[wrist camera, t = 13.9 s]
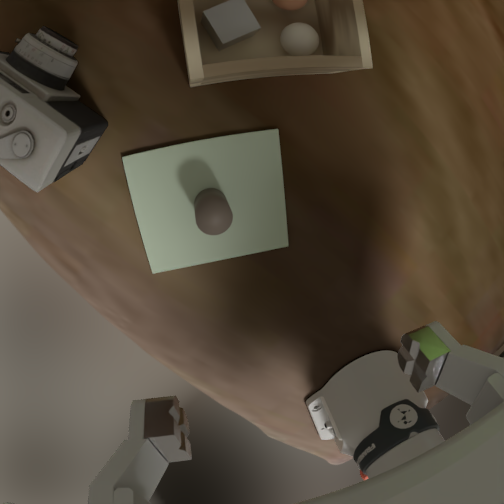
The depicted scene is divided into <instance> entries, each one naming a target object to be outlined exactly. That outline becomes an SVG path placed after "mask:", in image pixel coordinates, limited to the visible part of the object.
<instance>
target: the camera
mask: <svg viewBox="0 0 504 504" xmlns="http://www.w3.org/2000/svg"><path fill="white" fill-rule="evenodd" d="M15 42H17V43H18V44H17V46H16V47H15V48H14V50H13V51H12V52H11V54H10V53H7V52H1V51H0V165H1V166H2V167H3V168H5V169H6V170H7V171H8V172H10V173H11V174H12V175H14V176H15V177H16V178H18V179H19V180H20V181H22V182H23V183H24V184H26V185H27V186H28V187H30V188H31V189H32V190H34V191H36V192H39V191H40V190H42V189H43V188H45V187H46V186H48V185H49V184H51V183H53V182H55V181H57V180H58V179H60V178H61V177H63V176H64V175H66V174H67V173H69V172H71V171H72V170H74V169H75V168H77V167H79V166H80V165H82V164H83V162H84V161H85V160H86V159H87V157H88V156H89V154H90V153H91V151H92V149H93V148H94V146H95V145H96V143H97V142H98V140H99V139H100V137H101V136H102V134H103V133H104V131H105V129H106V128H107V126H108V122H107V121H106V120H105V119H104V118H102V117H101V116H100V115H98V114H97V113H95V112H94V111H92V110H91V109H90V108H88V107H87V106H85V105H84V104H83V103H81V102H80V101H78V99H79V98H80V95H79V94H77V93H76V92H74V91H73V90H71V89H70V88H68V87H67V86H66V84H67V82H68V80H69V79H70V77H71V75H72V73H73V71H74V69H75V67H76V66H77V64H78V61H77V60H76V59H75V58H74V57H73V55H74V54H75V52H76V51H77V49H78V46H77V45H76V44H74V43H73V42H71V41H70V40H68V39H67V38H65V37H63V36H62V35H60V34H58V33H57V32H55V31H53V30H51V29H49V28H47V27H45V26H42V28H40V29H39V31H38V32H37V34H36V35H35V34H31V33H27V34H26V35H25V36H24V37H23V38H22V40H20V39H18V38H17V39H16V41H15Z"/></svg>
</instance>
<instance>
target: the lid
mask: <svg viewBox="0 0 504 504" xmlns="http://www.w3.org/2000/svg"><path fill="white" fill-rule="evenodd" d="M122 160H123V164H124V169H125V173H126V178H127V182H128V186H129V190H130V194H131V198H132V202H133V206H134V210H135V214H136V218H137V222H138V225H139V229H140V233H141V236H142V240H143V243H144V247H145V250H146V253H147V257H148V260H149V263H150V267H151V270H152V273H153V274H154V273H159V272H164V271H169V270H174V269H179V268H184V267H189V266H194V265H199V264H204V263H209V262H214V261H219V260H224V259H228V258H233V257H238V256H243V255H248V254H253V253H258V252H263V251H268V250H273V249H278V248H283V247H288V246H289V245H288V232H287V219H286V206H285V194H284V183H283V172H282V161H281V151H280V141H279V131H278V129H270V130H262V131H254V132H246V133H239V134H233V135H226V136H220V137H214V138H208V139H202V140H197V141H192V142H186V143H181V144H176V145H171V146H167V147H162V148H157V149H153V150H148V151H144V152H140V153H136V154H132V155H128V156H124V157H122Z"/></svg>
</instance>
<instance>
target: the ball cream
mask: <svg viewBox="0 0 504 504" xmlns="http://www.w3.org/2000/svg"><path fill="white" fill-rule="evenodd" d="M280 42H281V45H282V47H283V49H284V50H285V51H286V52H287V53H288V54H290V55H292V56H309V55H311V54H313V53H314V52H315V51H316V49H317V48H318V45H319V36H318V34H317V32H316V31H315V29H314V28H313V27H311V26H310V25H308V24H305V23H300V22H298V23H292V24H290V25H288V26H286V27H285V28H284V29H283V31H282V33H281V36H280Z"/></svg>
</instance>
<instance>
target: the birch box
mask: <svg viewBox="0 0 504 504" xmlns="http://www.w3.org/2000/svg"><path fill="white" fill-rule="evenodd" d="M226 1H229V0H177V2H178V10H179V17H180V24H181V32H182V39H183V45H184V52H185V59H186V66H187V72H188V79H189V85H190V88H191V87H196V86H202V85H208V84H214V83H220V82H227V81H235V80H243V79H251V78H261V77H272V76H285V75H302V74H331V73H338V72H345V71H352V70H360V69H369V68H373V65H372V57H371V50H370V42H369V36H368V29H367V23H366V17H365V12H364V6H363V1H362V0H308V1H307V3H306V4H305V5H304V6H303V7H302V8H300V9H298V10H293V11H289V10H284V9H281V8H279V7H277V6H276V5H275V4H274V3H273V1H272V0H245V2H246V3H247V5H248V7H249V8H250V10H251V12H252V13H253V15H254V17H255V18H256V20H257V22H258V23H259V25H260V27H261V28H260V29H259V30H258V31H257V32H256V33H255V34H254V35H253V36H252V37H250V38H247V39H245V40H243V41H240V42H238V43H236V44H234V45H232V46H229V47H227V48H225V49H223V50H221V51H218V49H217V48H216V46H215V44H214V43H213V41H212V39H211V38H210V36H209V34H208V33H207V31H206V29H205V28H204V26H203V24H202V23H201V20H202V14H203V11H205V10H207V9H210V8H212V7H214V6H217V5H219V4H221V3H224V2H226ZM298 22H300V23H305V24H308V25H310V26H311V27H313V28H314V29H315V31H316V32H317V34H318V36H319V45H318V48H317V49H316V51H315V52H314V53H313V54H311V55H309V56H292V55H290V54H288V53H287V52H286V51H285V50H284V49H283V47H282V45H281V42H280V36H281V33H282V31H283V29H284V28H285V27H286V26H288V25H290V24H292V23H298Z"/></svg>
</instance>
